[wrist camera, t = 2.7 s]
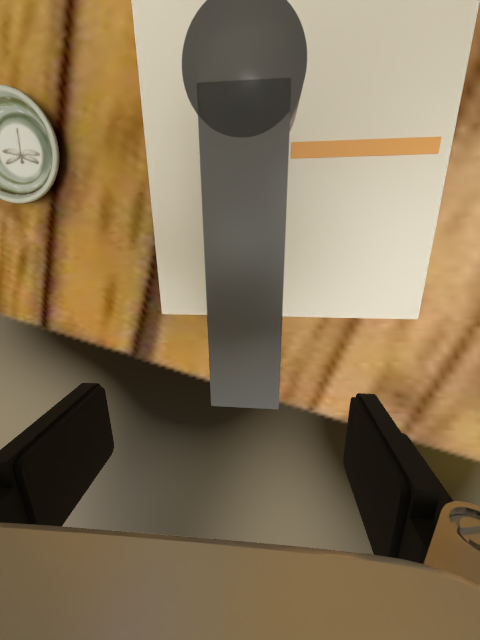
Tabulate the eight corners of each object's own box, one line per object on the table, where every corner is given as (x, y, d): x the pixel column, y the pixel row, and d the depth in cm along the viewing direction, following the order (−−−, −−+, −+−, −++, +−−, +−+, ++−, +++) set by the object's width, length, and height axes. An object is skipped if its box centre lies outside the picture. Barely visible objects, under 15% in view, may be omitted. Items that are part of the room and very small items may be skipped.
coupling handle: (208, 70, 17) (176, -12, 11) (296, 64, 16) (311, -25, 11) (218, 361, 23) (201, 405, 17) (283, 363, 22) (288, 409, 16)
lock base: (139, 12, 24) (66, -111, 15) (471, -17, 21) (609, -183, 13) (166, 310, 32) (129, 340, 23) (410, 314, 29) (469, 350, 21)
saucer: (53, 84, 26) (32, 70, 24) (86, 196, 29) (70, 193, 27) (-35, 108, 27) (-63, 97, 25) (4, 212, 30) (-17, 211, 28)
